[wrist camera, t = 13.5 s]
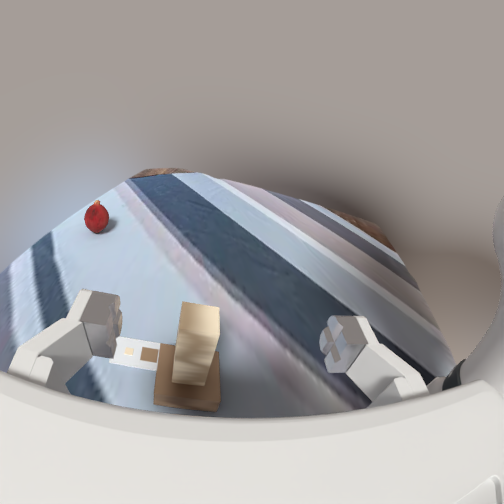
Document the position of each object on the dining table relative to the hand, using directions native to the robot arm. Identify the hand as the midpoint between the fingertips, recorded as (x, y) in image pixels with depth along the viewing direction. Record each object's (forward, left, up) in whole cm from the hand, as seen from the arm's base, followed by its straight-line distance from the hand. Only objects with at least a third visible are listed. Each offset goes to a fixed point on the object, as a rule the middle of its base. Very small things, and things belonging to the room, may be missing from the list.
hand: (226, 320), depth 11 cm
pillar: (0, -14, -23) cm, 27 cm away
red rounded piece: (+24, -49, -27) cm, 60 cm away
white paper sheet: (+7, -18, -27) cm, 33 cm away
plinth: (0, -14, -26) cm, 30 cm away
